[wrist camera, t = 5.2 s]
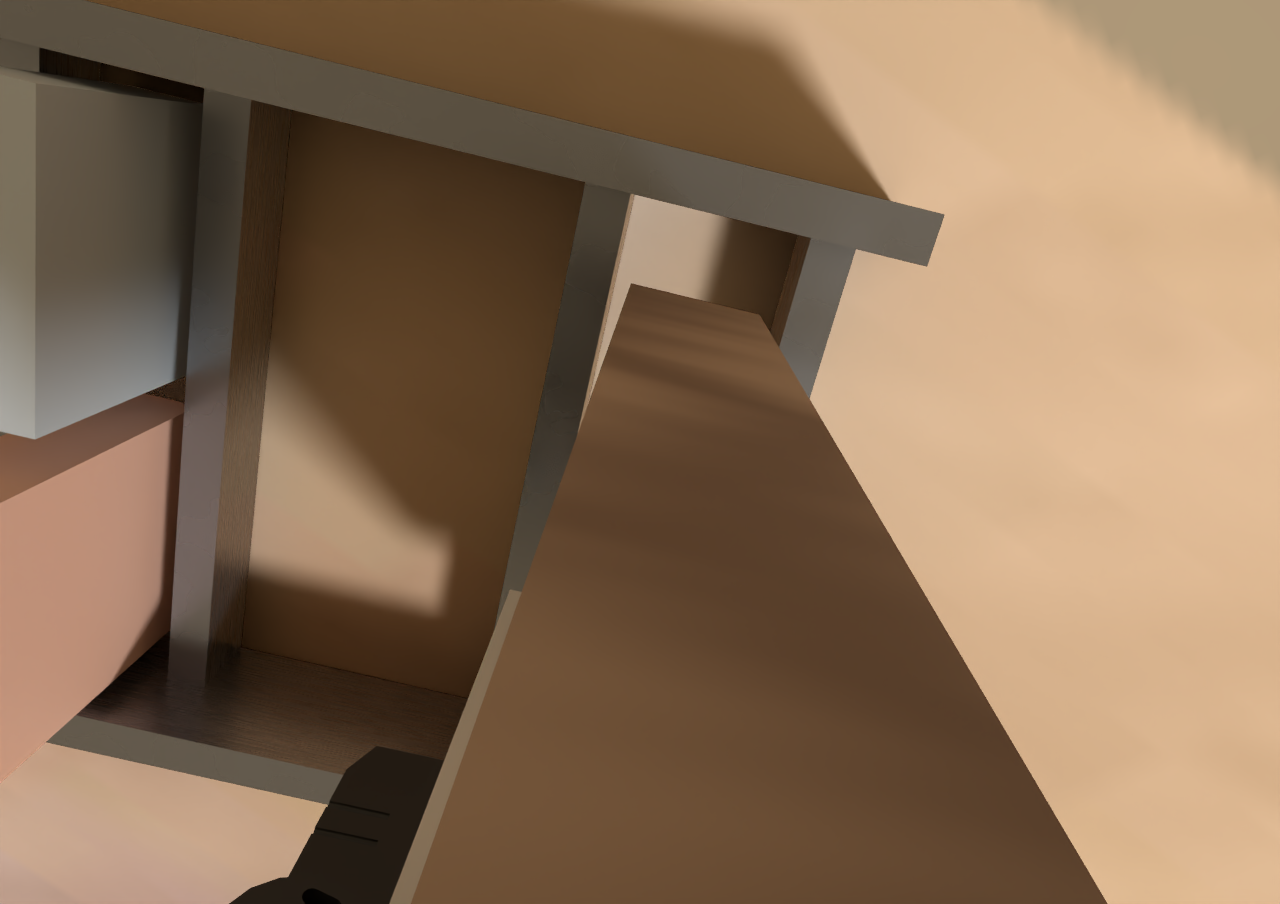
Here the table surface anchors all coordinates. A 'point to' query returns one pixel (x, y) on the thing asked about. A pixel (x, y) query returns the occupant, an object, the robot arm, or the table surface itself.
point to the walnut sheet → (731, 671)
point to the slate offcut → (92, 245)
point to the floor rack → (239, 347)
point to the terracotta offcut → (83, 562)
